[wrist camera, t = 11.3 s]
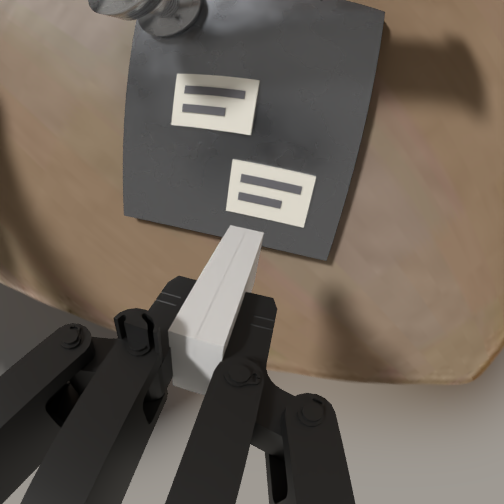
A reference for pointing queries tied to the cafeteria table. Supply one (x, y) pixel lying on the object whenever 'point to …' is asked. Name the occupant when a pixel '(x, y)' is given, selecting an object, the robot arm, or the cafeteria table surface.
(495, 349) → the cafeteria table surface
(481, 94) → the cafeteria table surface
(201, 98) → the label
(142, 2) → the swing arm
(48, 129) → the cafeteria table surface
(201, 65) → the board
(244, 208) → the label
